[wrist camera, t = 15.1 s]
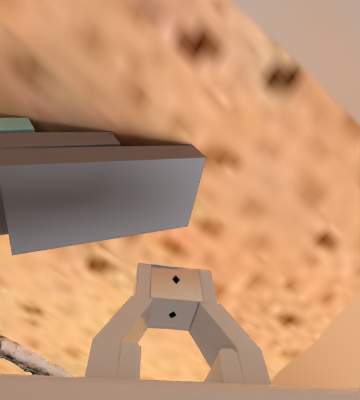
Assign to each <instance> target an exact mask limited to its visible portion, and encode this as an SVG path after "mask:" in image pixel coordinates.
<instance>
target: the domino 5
mask: <svg viewBox="0 0 360 400" xmlns="http://www.w3.org/2000/svg"><path fill="white" fill-rule="evenodd" d="M205 160H206V157H205V156H204V155H203V154H202V153H201V152H200V151H199V150H198V149H197V148H195V147H194V146H193V145H172V146H115V147H57V148H0V186H1V192H2V198H3V204H4V210H5V216H6V222H7V228H8V234H9V239H10V245H11V251H12V255H17V254H23V253H29V252H35V251H41V250H47V249H54V248H60V247H66V246H72V245H78V244H84V243H90V242H96V241H102V240H108V239H114V238H120V237H126V236H132V235H138V234H144V233H150V232H156V231H162V230H168V229H174V228H180V227H186V226H188V224H189V220H190V216H191V213H192V209H193V205H194V201H195V198H196V194H197V190H198V186H199V183H200V179H201V175H202V171H203V168H204V164H205Z"/></svg>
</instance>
